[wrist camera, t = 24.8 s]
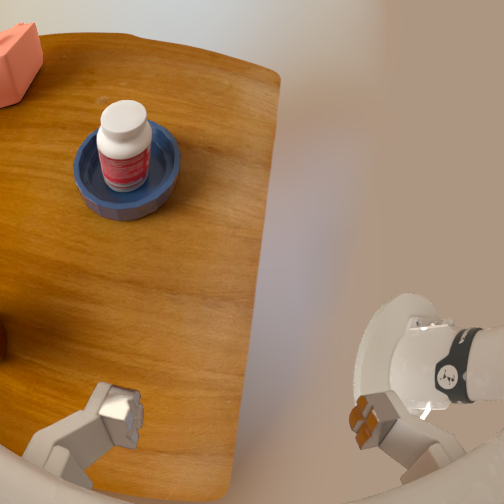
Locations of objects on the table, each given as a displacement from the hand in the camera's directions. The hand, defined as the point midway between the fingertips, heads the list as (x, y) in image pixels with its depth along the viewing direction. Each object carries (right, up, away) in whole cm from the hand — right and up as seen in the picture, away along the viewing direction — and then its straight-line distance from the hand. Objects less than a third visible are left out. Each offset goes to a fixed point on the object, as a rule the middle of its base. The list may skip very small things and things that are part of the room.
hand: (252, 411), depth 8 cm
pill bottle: (-16, +16, +23) cm, 32 cm away
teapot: (-49, +36, +17) cm, 63 cm away
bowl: (-16, +16, +23) cm, 33 cm away
